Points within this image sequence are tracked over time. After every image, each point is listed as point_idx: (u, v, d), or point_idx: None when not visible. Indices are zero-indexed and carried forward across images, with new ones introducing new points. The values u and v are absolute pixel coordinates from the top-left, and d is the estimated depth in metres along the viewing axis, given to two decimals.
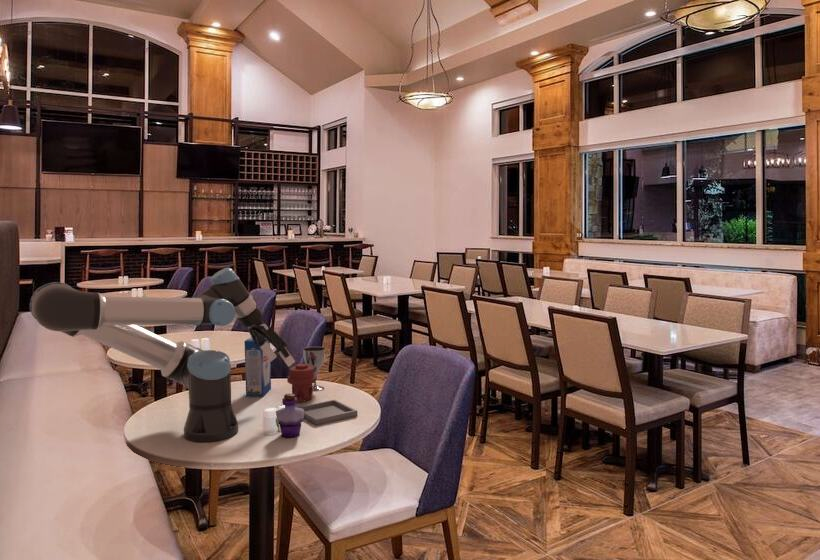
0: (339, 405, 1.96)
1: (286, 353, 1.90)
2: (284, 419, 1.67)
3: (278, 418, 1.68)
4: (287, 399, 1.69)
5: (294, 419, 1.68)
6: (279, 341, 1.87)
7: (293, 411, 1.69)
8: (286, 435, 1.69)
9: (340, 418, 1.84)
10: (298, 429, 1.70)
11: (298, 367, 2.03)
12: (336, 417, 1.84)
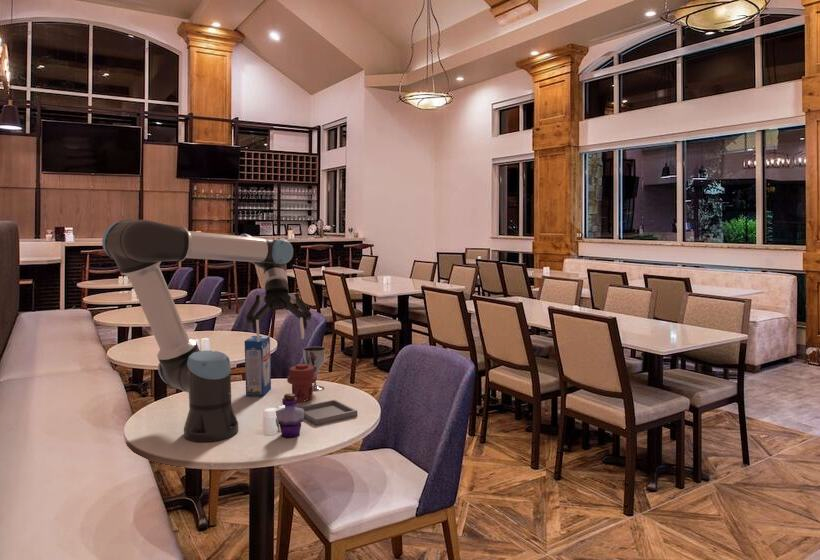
0: (339, 405, 1.96)
1: None
2: (284, 419, 1.67)
3: (278, 418, 1.68)
4: (287, 399, 1.69)
5: (294, 419, 1.68)
6: None
7: (293, 411, 1.69)
8: (286, 435, 1.69)
9: (340, 418, 1.84)
10: (298, 429, 1.70)
11: (298, 367, 2.03)
12: (336, 417, 1.84)
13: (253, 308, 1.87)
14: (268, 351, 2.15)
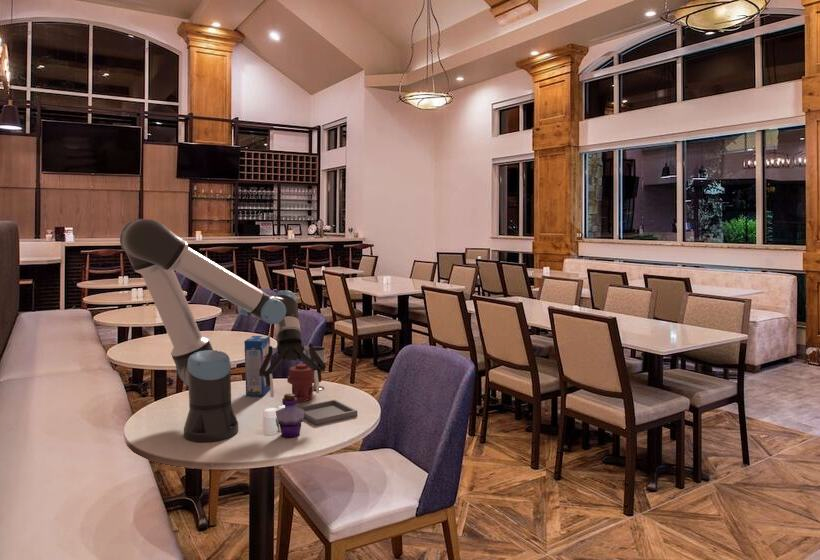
0: (339, 405, 1.96)
1: None
2: (284, 419, 1.67)
3: (278, 418, 1.68)
4: (287, 399, 1.69)
5: (294, 419, 1.68)
6: None
7: (293, 411, 1.69)
8: (286, 435, 1.69)
9: (340, 418, 1.84)
10: (298, 429, 1.70)
11: (298, 367, 2.03)
12: (336, 417, 1.84)
13: (266, 361, 1.81)
14: None
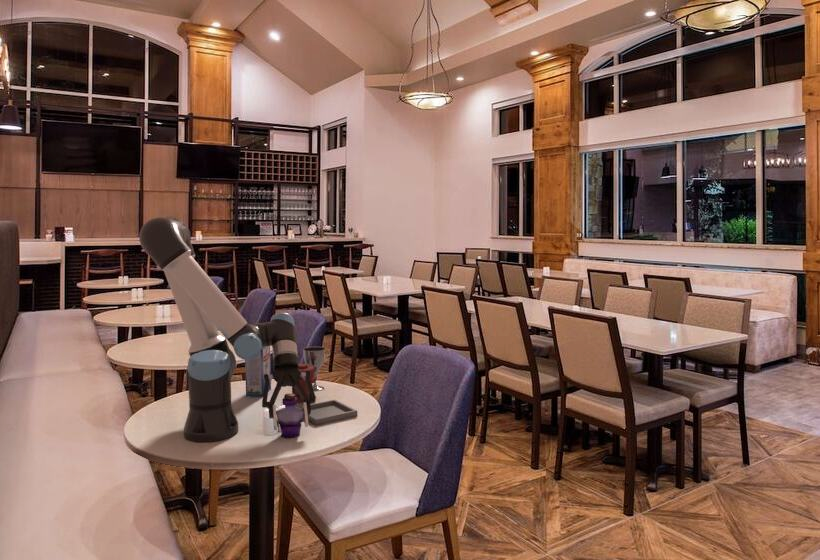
0: (339, 405, 1.96)
1: None
2: (284, 419, 1.67)
3: (278, 418, 1.68)
4: (287, 399, 1.69)
5: (294, 419, 1.68)
6: None
7: (294, 411, 1.69)
8: (286, 435, 1.69)
9: (340, 418, 1.84)
10: (298, 429, 1.70)
11: None
12: (336, 417, 1.84)
13: (266, 390, 1.72)
14: (268, 351, 2.15)
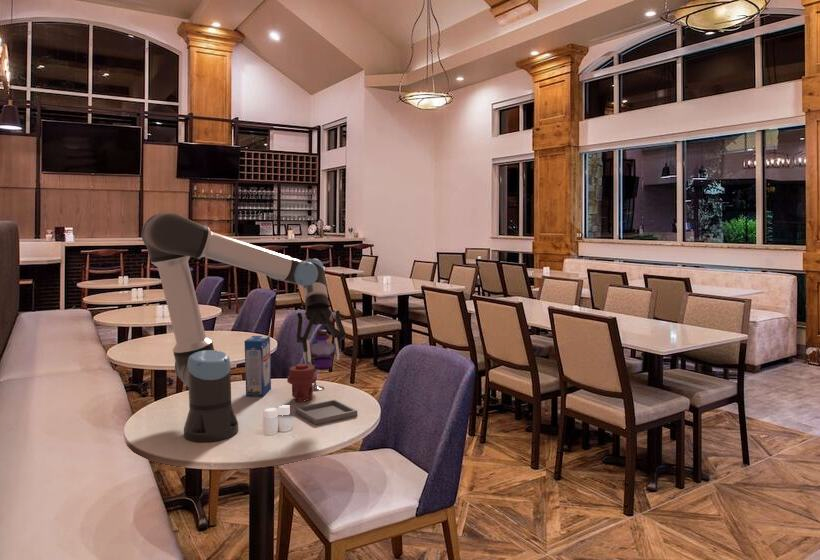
0: (339, 405, 1.96)
1: None
2: (317, 352, 1.81)
3: (312, 351, 1.82)
4: (320, 334, 1.83)
5: (327, 352, 1.81)
6: None
7: (326, 345, 1.83)
8: (319, 367, 1.83)
9: (340, 418, 1.84)
10: (330, 362, 1.84)
11: (298, 367, 2.03)
12: (336, 417, 1.84)
13: (300, 327, 1.86)
14: (268, 351, 2.15)
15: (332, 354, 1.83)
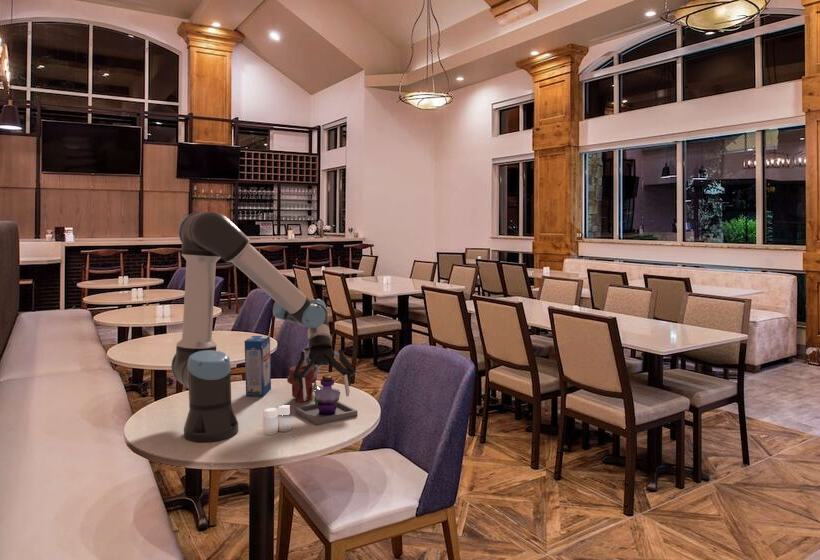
0: (339, 405, 1.96)
1: None
2: (322, 398, 1.85)
3: (317, 397, 1.86)
4: (325, 380, 1.87)
5: (332, 398, 1.86)
6: None
7: (331, 391, 1.87)
8: (324, 412, 1.87)
9: (340, 418, 1.84)
10: (334, 407, 1.88)
11: None
12: (336, 417, 1.84)
13: (299, 365, 1.90)
14: (268, 351, 2.15)
15: (336, 400, 1.88)
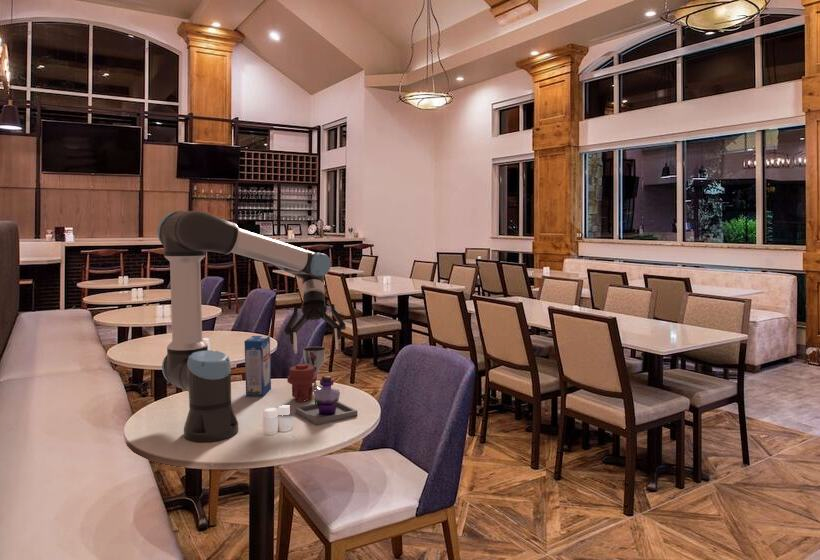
0: (339, 405, 1.96)
1: (340, 335, 1.98)
2: (322, 398, 1.85)
3: (316, 397, 1.86)
4: (324, 380, 1.87)
5: (331, 398, 1.86)
6: None
7: (330, 391, 1.87)
8: (324, 413, 1.87)
9: (340, 418, 1.84)
10: (334, 407, 1.88)
11: (298, 367, 2.03)
12: (336, 417, 1.84)
13: (291, 321, 1.99)
14: (268, 351, 2.15)
15: (336, 400, 1.88)
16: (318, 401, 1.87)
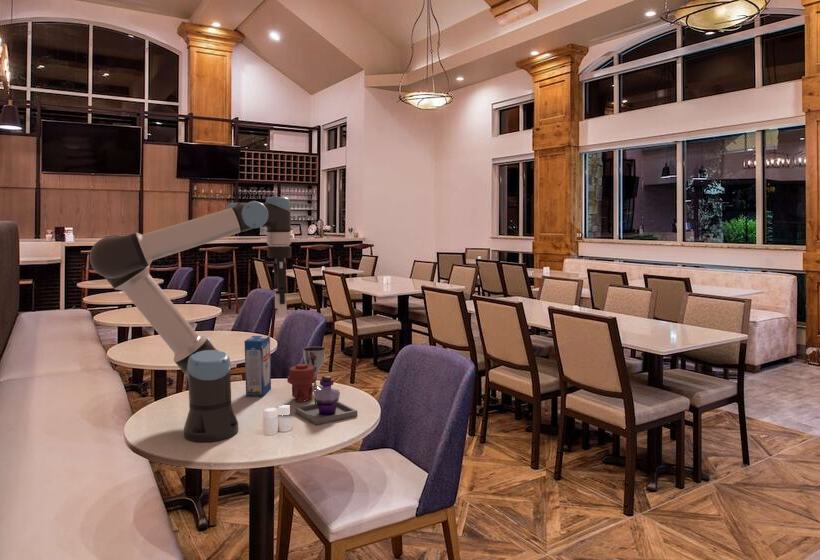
0: (339, 405, 1.96)
1: (282, 300, 1.83)
2: (322, 398, 1.85)
3: (316, 397, 1.86)
4: (324, 380, 1.87)
5: (331, 398, 1.86)
6: (282, 284, 1.82)
7: (330, 391, 1.87)
8: (324, 413, 1.87)
9: (340, 418, 1.84)
10: (334, 407, 1.88)
11: (298, 367, 2.03)
12: (336, 417, 1.84)
13: (274, 275, 1.98)
14: (268, 351, 2.15)
15: (336, 400, 1.88)
16: (318, 401, 1.87)
